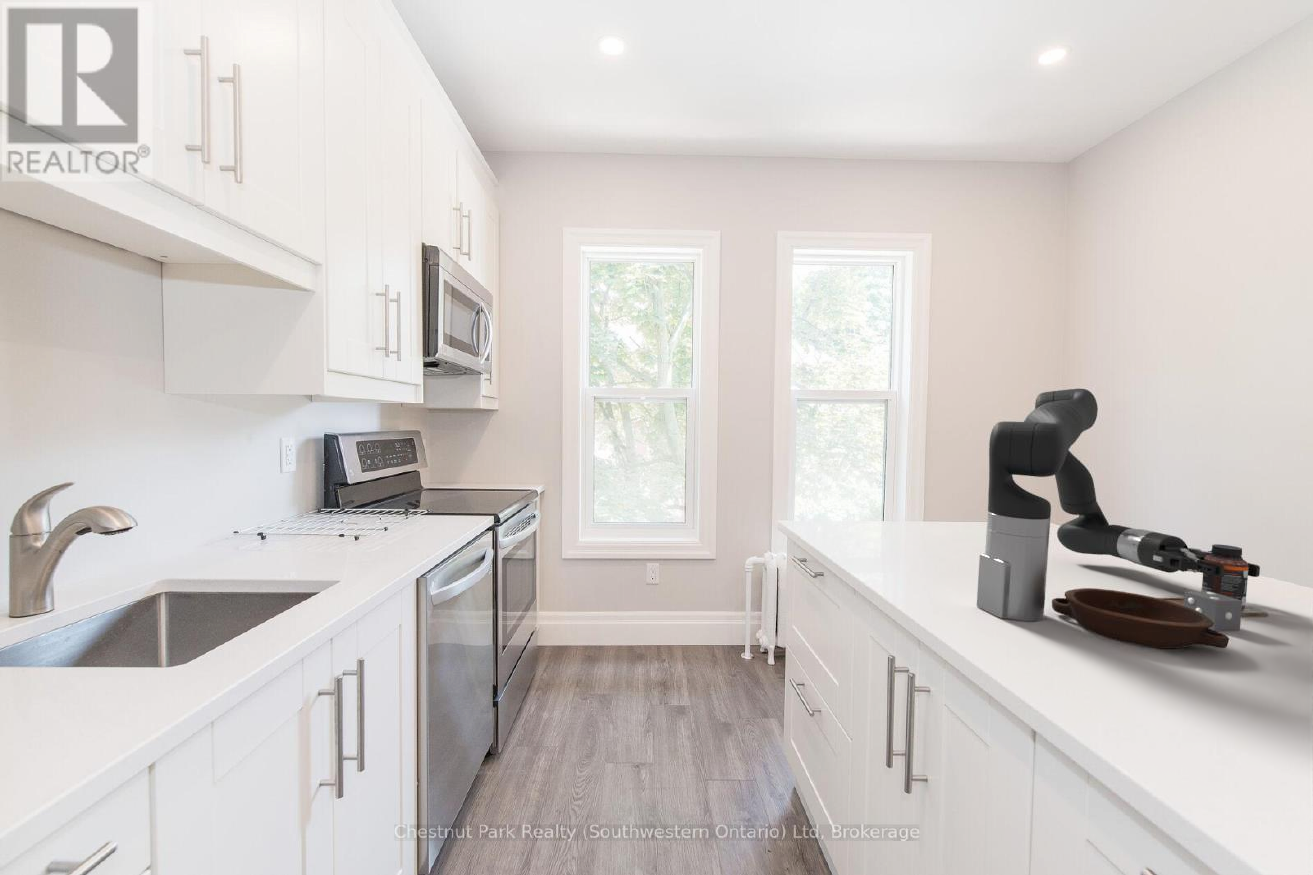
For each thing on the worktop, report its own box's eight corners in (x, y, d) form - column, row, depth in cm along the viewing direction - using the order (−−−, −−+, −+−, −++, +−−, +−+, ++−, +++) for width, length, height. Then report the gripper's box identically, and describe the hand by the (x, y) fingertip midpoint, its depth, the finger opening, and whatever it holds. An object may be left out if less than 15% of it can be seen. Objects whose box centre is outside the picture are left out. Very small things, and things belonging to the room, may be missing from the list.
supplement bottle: (1255, 612, 105) (1260, 550, 104) (1221, 611, 105) (1226, 549, 104) (1223, 601, 111) (1228, 543, 110) (1191, 600, 111) (1196, 542, 110)
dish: (1227, 674, 79) (1230, 639, 79) (1038, 628, 95) (1040, 598, 94) (1227, 641, 91) (1230, 610, 91) (1060, 604, 107) (1062, 578, 107)
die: (1214, 631, 95) (1216, 600, 95) (1181, 620, 100) (1184, 590, 100) (1240, 630, 96) (1243, 600, 95) (1207, 619, 101) (1209, 590, 101)
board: (1166, 618, 101) (1166, 615, 101) (1118, 601, 110) (1119, 598, 110) (1267, 616, 104) (1268, 613, 104) (1213, 599, 113) (1213, 597, 113)
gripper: (1122, 531, 120) (1208, 551, 104) (1182, 531, 122) (1275, 551, 106) (1119, 567, 121) (1205, 592, 104) (1179, 566, 123) (1272, 591, 106)
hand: (1240, 571), depth 105 cm, fingers open, 7 cm apart
